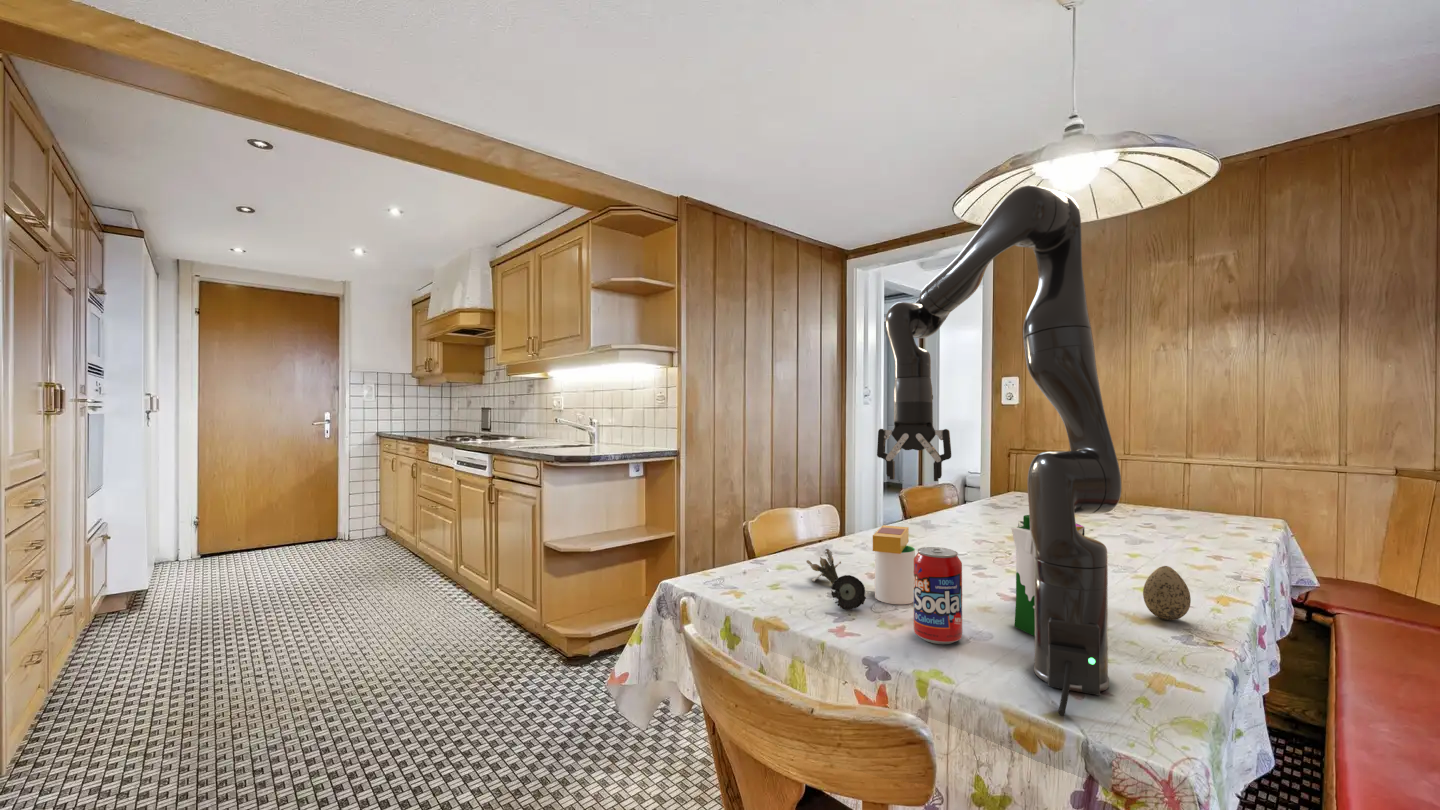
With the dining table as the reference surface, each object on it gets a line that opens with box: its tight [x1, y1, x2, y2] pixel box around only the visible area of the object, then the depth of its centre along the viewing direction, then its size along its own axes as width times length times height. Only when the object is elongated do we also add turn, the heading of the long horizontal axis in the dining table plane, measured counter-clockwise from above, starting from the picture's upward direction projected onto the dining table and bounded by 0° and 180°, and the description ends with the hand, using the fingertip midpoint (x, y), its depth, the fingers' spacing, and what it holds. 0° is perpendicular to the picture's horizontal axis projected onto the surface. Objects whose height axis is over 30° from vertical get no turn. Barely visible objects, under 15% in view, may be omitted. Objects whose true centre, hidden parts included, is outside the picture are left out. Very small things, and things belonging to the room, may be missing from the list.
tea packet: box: [872, 524, 910, 554], centre depth 125 cm, size 12×6×3 cm, turn 155°
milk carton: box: [1011, 514, 1035, 637], centre depth 105 cm, size 9×9×20 cm
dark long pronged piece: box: [805, 548, 867, 611], centre depth 128 cm, size 9×22×10 cm, turn 179°
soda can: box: [913, 546, 963, 645], centre depth 102 cm, size 8×8×15 cm
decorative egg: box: [1142, 565, 1192, 621], centre depth 111 cm, size 7×7×10 cm
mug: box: [874, 544, 916, 605], centre depth 126 cm, size 12×8×10 cm
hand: (913, 480), depth 121 cm, fingers open, 8 cm apart
